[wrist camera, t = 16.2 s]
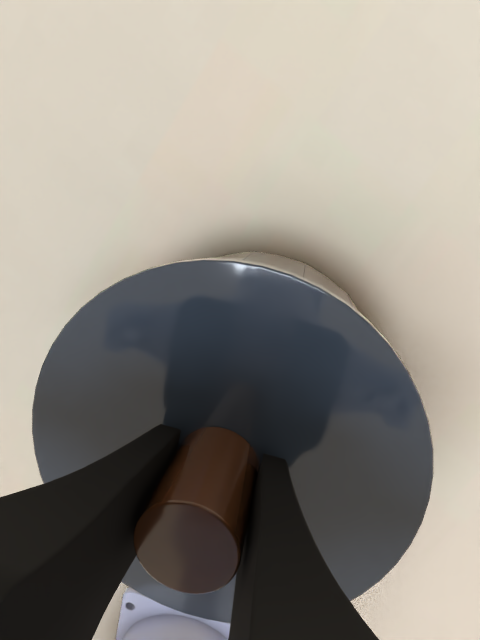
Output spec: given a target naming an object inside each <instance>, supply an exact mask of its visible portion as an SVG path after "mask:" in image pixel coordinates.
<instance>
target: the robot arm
mask: <svg viewBox="0 0 480 640" xmlns="http://www.w3.org/2000/svg"><path fill="white" fill-rule="evenodd" d="M180 432H181V430H180V429H177V428H173V427H170V426H166V425H163V424H159V425H158V426H156V427H154V428H152V429H151V430H149V431H148V432H146V433H144V434H143V435H141V436H140V437H138V438H136V439H135V440H133V441H131V442H130V443H128V444H126V445H125V446H123V447H121V448H119V449H118V450H116V451H114V452H112V453H111V454H109V455H107V456H105V457H103V458H101V459H99V460H97V461H95V462H93V463H91V464H89V465H87V466H86V467H84V468H81V469H79V470H77V471H75V472H72V473H70V474H68V475H65V476H63V477H60V478H58V479H55V480H53V481H50V482H47V483H45V484H42V485H39V486H36V487H32V488H29V489H26V490H23V491H20V492H16V493H13V494H10V495H7V496H3V497H0V640H92V638H93V636H94V634H95V631H96V629H97V627H98V625H99V623H100V621H101V618H102V616H103V614H104V612H105V610H106V608H107V606H108V604H109V603H110V601H111V599H112V597H113V595H114V593H115V591H116V590H117V588H118V586H119V584H120V583H121V581H122V579H123V578H124V576H125V574H126V572H127V571H128V569H129V567H130V565H131V564H132V562H133V560H134V559H135V557H136V553H135V549H134V543H133V535H134V529H135V525H136V523H137V521H138V519H139V517H140V515H141V513H142V512H143V510H144V508H145V506H146V504H147V503H148V501H149V499H150V497H151V496H152V494H153V492H154V490H155V488H156V487H157V485H158V483H159V481H160V479H161V478H162V476H163V474H164V472H165V471H166V469H167V467H168V465H169V463H170V462H171V460H172V458H173V456H174V455H175V453H176V451H177V447H178V442H179V437H180ZM116 640H379V639H378V638H377V637H376V635H375V634H374V633H373V632H372V630H371V629H370V628H369V627H368V626H367V624H366V623H365V622H364V620H363V619H362V618H361V616H360V615H359V613H358V612H357V611H356V609H355V608H354V606H353V605H352V603H351V602H350V601H349V599H348V598H347V596H346V595H345V593H344V592H343V590H342V589H341V587H340V586H339V584H338V583H337V581H336V579H335V578H334V576H333V574H332V573H331V571H330V569H329V567H328V566H327V564H326V562H325V560H324V558H323V557H322V555H321V553H320V551H319V549H318V547H317V545H316V543H315V541H314V538H313V536H312V534H311V532H310V530H309V527H308V525H307V523H306V520H305V518H304V515H303V513H302V510H301V507H300V505H299V502H298V499H297V496H296V494H295V490H294V487H293V484H292V480H291V477H290V473H289V468H288V464H287V462H286V460H285V459H282V458H279V457H275V456H272V455H268V454H265V453H263V457H262V461H261V464H260V468H259V472H258V476H257V481H256V486H255V491H254V495H253V501H252V508H251V513H250V519H249V523H248V528H247V533H246V538H245V543H244V548H243V552H242V557H241V562H240V566H239V569H238V571H237V574H236V582H235V590H234V598H233V607H232V615H231V623H225V622H219V621H213V620H207V619H203V618H199V617H196V616H192V615H189V614H185V613H182V612H179V611H177V610H174V609H172V608H169V607H166V606H164V605H161V604H159V603H157V602H155V601H153V600H151V599H149V598H147V597H145V596H143V595H141V594H140V593H138V592H137V591H135V590H133V589H132V588H130V587H128V588H127V589H126V591H125V593H124V595H123V599H122V605H121V611H120V617H119V622H118V628H117V634H116Z"/></svg>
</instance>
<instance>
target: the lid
mask: <svg viewBox="0 0 480 640" xmlns="http://www.w3.org/2000/svg"><path fill="white" fill-rule="evenodd" d="M159 424H163V425H166V426H170V427H173V428H177V429H180V430H181V432H180V437H179V442H178V447H177V451H176V453H175V455H174V456H173V458H172V460H171V462H170V463H169V465H168V467H167V469H166V471H165V472H164V474H163V476H162V478H161V479H160V481H159V483H158V485H157V487H156V488H155V490H154V492H153V494H152V496H151V497H150V499H149V501H148V503H147V504H146V506H145V508H144V510H143V512H142V513H141V515H140V517H139V519H138V521H137V523H136V525H135V529H134V535H133V543H134V549H135V553H136V557H135V559H134V560H133V562H132V564H131V565H130V567H129V569H128V571H127V572H126V574H125V576H124V578H123V579H122V581H121V582H122V583H124V584H126V585H127V586H129V587H130V588H132V589H133V590H135V591H137V592H138V593H140V594H141V595H143V596H145V597H147V598H149V599H151V600H153V601H155V602H157V603H159V604H161V605H164V606H166V607H169V608H172V609H174V610H177V611H179V612H182V613H185V614H189V615H192V616H196V617H199V618H203V619H207V620H213V621H219V622H225V623H231V615H232V607H233V598H234V590H235V582H236V574H237V571H238V569H239V566H240V562H241V557H242V552H243V548H244V543H245V538H246V533H247V528H248V523H249V519H250V513H251V508H252V501H253V495H254V491H255V486H256V481H257V476H258V472H259V468H260V464H261V461H262V457H263V453H265V454H268V455H272V456H275V457H279V458H282V459H285V460H286V462H287V464H288V468H289V473H290V477H291V480H292V484H293V487H294V490H295V494H296V496H297V499H298V502H299V505H300V507H301V510H302V513H303V515H304V518H305V520H306V523H307V525H308V527H309V530H310V532H311V534H312V536H313V538H314V541H315V543H316V545H317V547H318V549H319V551H320V553H321V555H322V557H323V558H324V560H325V562H326V564H327V566H328V567H329V569H330V571H331V573H332V574H333V576H334V578H335V579H336V581H337V583H338V584H339V586H340V587H341V589H342V590H343V592H344V593H345V595H346V596H347V598H348V599H349V601H351V600H353V599H355V598H356V597H358V596H360V595H362V594H363V593H365V592H366V591H367V590H368V589H370V588H371V587H372V586H374V585H375V584H376V583H378V582H379V581H380V580H381V579H382V578H383V577H384V576H385V575H386V574H387V573H388V572H389V571H390V570H391V569H392V568H393V567H394V566H395V565H396V564H397V563H398V562H399V560H400V559H401V557H402V556H403V555H404V553H405V552H406V550H407V549H408V548H409V546H410V545H411V543H412V541H413V539H414V537H415V535H416V533H417V531H418V529H419V527H420V525H421V523H422V521H423V518H424V514H425V511H426V508H427V505H428V502H429V499H430V492H431V486H432V479H433V444H432V438H431V432H430V426H429V421H428V418H427V415H426V412H425V409H424V406H423V402H422V399H421V396H420V394H419V392H418V390H417V388H416V386H415V384H414V382H413V380H412V378H411V376H410V374H409V372H408V370H407V368H406V367H405V365H404V363H403V362H402V360H401V359H400V358H399V356H398V355H397V353H396V352H395V350H394V349H393V347H392V346H391V345H390V343H389V342H388V340H387V339H386V338H385V337H384V336H383V335H382V334H381V333H380V332H379V331H378V330H377V329H376V327H375V326H374V325H373V324H372V323H371V322H370V321H369V320H368V319H367V318H366V317H364V316H363V315H362V314H361V313H360V312H358V311H357V310H356V309H355V308H354V307H352V306H351V305H350V304H349V303H348V302H346V301H345V300H343V299H342V298H340V297H339V296H337V295H335V294H334V293H332V292H331V291H329V290H327V289H326V288H324V287H323V286H321V285H319V284H317V283H315V282H313V281H310V280H308V279H306V278H304V277H302V276H300V275H297V274H295V273H293V272H290V271H286V270H283V269H280V268H277V267H273V266H270V265H267V264H263V263H257V262H251V261H245V260H239V259H225V258H201V259H191V260H181V261H176V262H172V263H168V264H164V265H159V266H155V267H152V268H149V269H147V270H144V271H142V272H139V273H137V274H134V275H132V276H129V277H127V278H124V279H122V280H121V281H119V282H117V283H115V284H114V285H112V286H110V287H108V288H107V289H105V290H103V291H102V292H100V293H99V294H98V295H96V296H95V297H94V298H93V299H91V300H90V301H89V302H88V303H86V304H85V305H84V306H83V307H82V308H81V309H80V310H79V311H78V312H77V313H76V314H75V315H74V316H73V317H72V318H71V319H70V321H69V322H68V323H67V324H66V325H65V326H64V328H63V329H62V331H61V332H60V334H59V335H58V337H57V338H56V340H55V341H54V343H53V344H52V346H51V348H50V350H49V353H48V355H47V357H46V359H45V361H44V363H43V365H42V368H41V372H40V375H39V378H38V381H37V385H36V389H35V395H34V402H33V409H32V434H33V442H34V450H35V456H36V460H37V464H38V467H39V471H40V475H41V478H42V480H43V483H44V484H45V483H47V482H50V481H53V480H55V479H58V478H60V477H63V476H65V475H68V474H70V473H72V472H75V471H77V470H79V469H81V468H84V467H86V466H87V465H89V464H91V463H93V462H95V461H97V460H99V459H101V458H103V457H105V456H107V455H109V454H111V453H112V452H114V451H116V450H118V449H119V448H121V447H123V446H125V445H126V444H128V443H130V442H131V441H133V440H135V439H136V438H138V437H140V436H141V435H143V434H144V433H146V432H148V431H149V430H151V429H152V428H154V427H156V426H158V425H159Z"/></svg>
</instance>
